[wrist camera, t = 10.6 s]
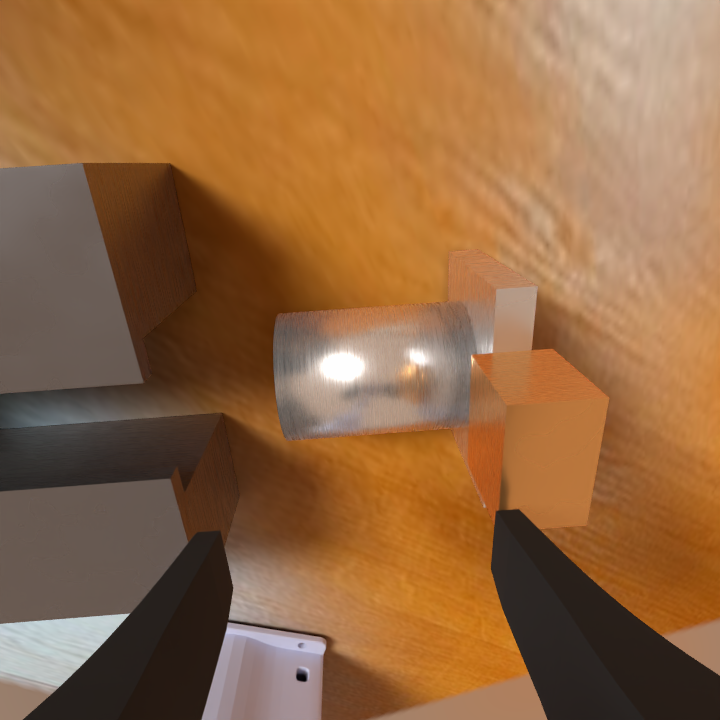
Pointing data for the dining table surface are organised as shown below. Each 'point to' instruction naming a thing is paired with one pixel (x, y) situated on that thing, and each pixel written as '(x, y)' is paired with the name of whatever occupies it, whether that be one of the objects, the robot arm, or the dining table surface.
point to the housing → (93, 369)
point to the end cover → (452, 387)
